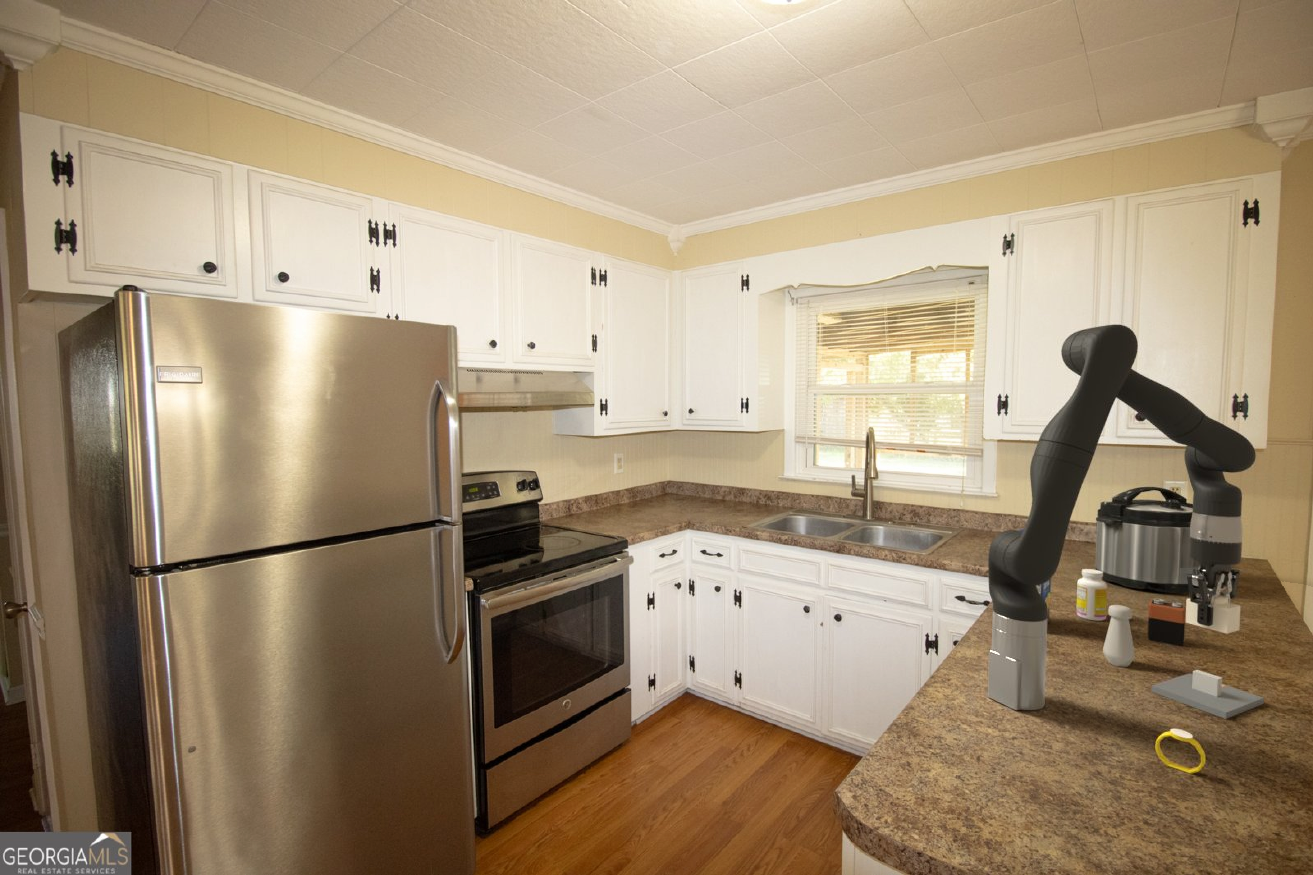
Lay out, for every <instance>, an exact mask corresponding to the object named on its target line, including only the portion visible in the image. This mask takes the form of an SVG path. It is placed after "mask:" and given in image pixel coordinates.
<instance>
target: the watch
mask: <svg viewBox="0 0 1313 875" xmlns="http://www.w3.org/2000/svg"><path fill="white" fill-rule="evenodd" d="M1168 737H1172V738H1173V739H1175V740H1178V741H1181V742H1185V743H1186V742H1187V743H1189V744H1191V745H1192V746H1194V747H1195V749H1196V750H1197V752H1198V754H1199V755H1200V763H1199V765H1198V766H1194V767H1191V768H1190V767H1188V766H1184V765H1182V764H1178V763H1176V762H1172V761H1170V760H1169V759H1168V758H1167V757H1166V756H1165V755H1164V753H1163V751H1162V748H1161V745H1160V744H1161V741H1162V740H1163V739H1164V738H1168ZM1154 748H1155V752H1156V754H1157V756H1158V758H1159V760H1160V761H1162V763H1163V764H1164V765H1165V766H1166V767H1169V768H1173V769H1175V770H1178V771H1180V772H1183V773H1187V774H1190V775H1192V774H1194V773H1195V774H1196V773H1199V772H1200V771H1201V770H1202V769H1203V768H1204V766H1205V764H1206V753H1205V751H1204V749H1203V747H1202V745H1201V744H1200V743H1199V742H1198V741H1197V740H1195V739H1194V737H1193V734H1191V733H1190V732H1188V731H1185V730H1184V729H1180V728H1170V730H1169V731H1164V732H1163V733H1161V734H1160V735H1159V736H1158V737H1157V738H1156V741H1155V747H1154Z"/></svg>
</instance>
